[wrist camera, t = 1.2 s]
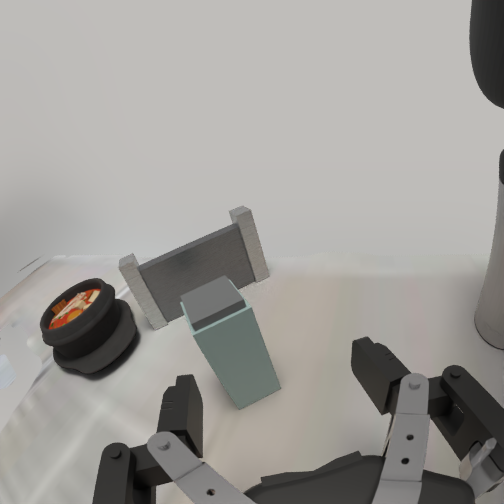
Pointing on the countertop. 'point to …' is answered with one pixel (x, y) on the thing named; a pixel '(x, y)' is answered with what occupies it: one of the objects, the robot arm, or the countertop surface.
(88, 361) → the casserole
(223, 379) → the block
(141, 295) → the grey wall block
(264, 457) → the countertop surface
